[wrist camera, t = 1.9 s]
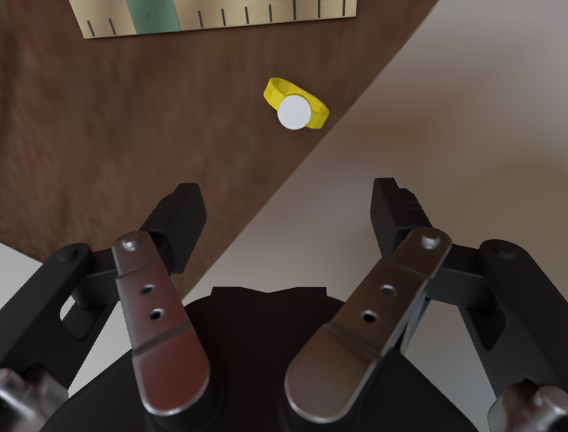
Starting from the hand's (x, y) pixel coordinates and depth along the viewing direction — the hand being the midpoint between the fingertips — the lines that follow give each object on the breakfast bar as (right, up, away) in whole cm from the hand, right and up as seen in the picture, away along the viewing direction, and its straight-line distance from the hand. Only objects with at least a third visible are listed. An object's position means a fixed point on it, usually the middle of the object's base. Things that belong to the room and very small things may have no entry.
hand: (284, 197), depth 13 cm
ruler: (-6, +17, +11) cm, 21 cm away
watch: (+1, +11, +15) cm, 19 cm away
